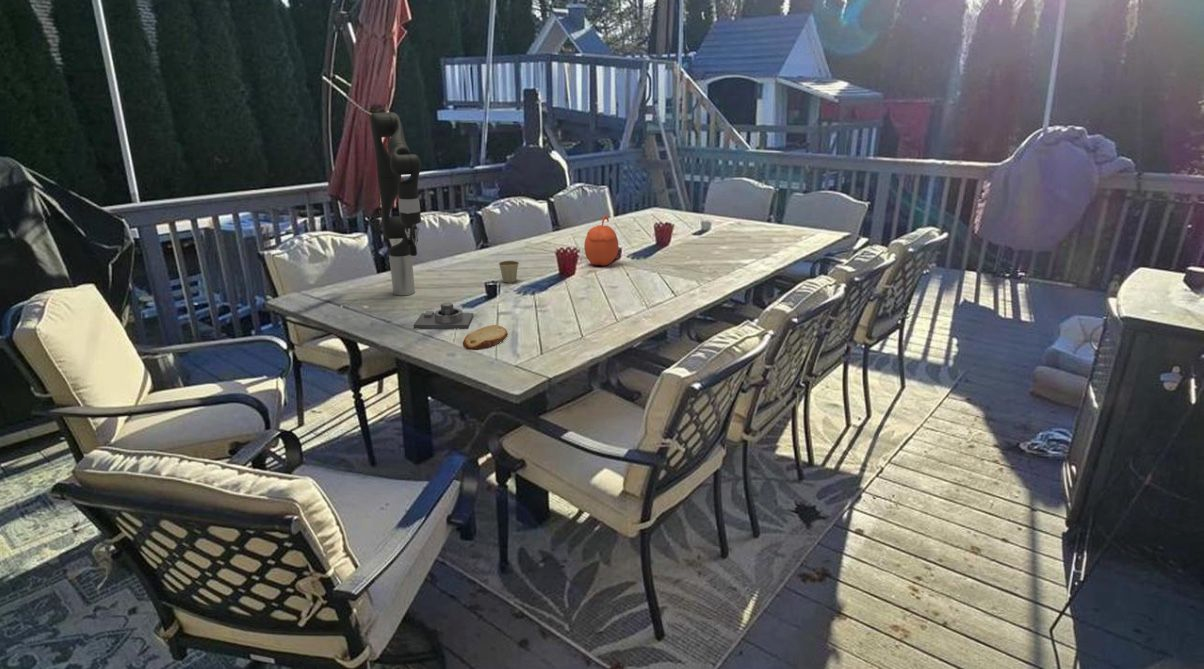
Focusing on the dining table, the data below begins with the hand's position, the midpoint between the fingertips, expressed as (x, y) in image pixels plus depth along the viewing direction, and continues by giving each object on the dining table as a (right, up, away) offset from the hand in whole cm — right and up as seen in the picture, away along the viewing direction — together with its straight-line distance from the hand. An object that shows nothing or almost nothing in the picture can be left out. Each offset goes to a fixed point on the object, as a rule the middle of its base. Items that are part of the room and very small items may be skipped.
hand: (413, 255), depth 248 cm
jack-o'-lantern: (+71, +6, +87) cm, 112 cm away
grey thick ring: (+13, -25, 0) cm, 28 cm away
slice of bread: (+30, -32, -15) cm, 47 cm away
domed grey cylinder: (+13, -25, 0) cm, 28 cm away
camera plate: (+11, -26, +1) cm, 28 cm away
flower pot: (+28, -5, +56) cm, 63 cm away
